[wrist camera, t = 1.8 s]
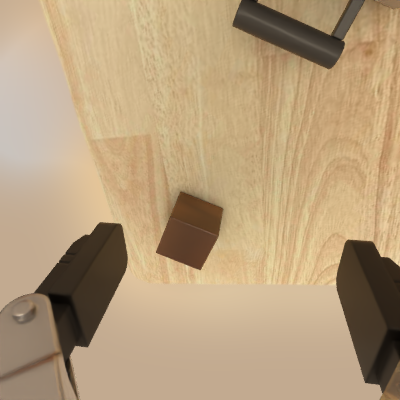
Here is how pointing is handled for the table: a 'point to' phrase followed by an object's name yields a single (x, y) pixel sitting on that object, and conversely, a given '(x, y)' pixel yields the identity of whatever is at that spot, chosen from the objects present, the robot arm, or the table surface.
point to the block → (191, 231)
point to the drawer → (299, 30)
